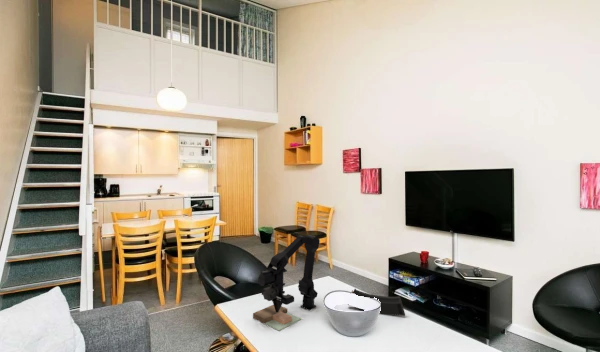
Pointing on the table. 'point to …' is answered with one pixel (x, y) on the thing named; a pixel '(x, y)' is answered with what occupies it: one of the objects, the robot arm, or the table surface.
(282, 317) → the terracotta tile
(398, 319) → the table surface
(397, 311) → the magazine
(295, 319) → the green mat
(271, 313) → the walnut stand
